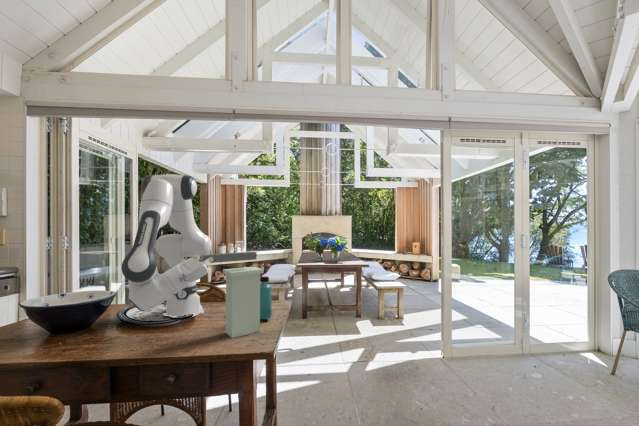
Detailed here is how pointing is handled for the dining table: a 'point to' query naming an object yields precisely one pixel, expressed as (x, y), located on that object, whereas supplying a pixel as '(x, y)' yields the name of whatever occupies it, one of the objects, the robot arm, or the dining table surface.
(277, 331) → the dining table surface
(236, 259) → the graphite bar
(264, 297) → the beverage bottle
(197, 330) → the dining table surface
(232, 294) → the sage stand
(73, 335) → the dining table surface
